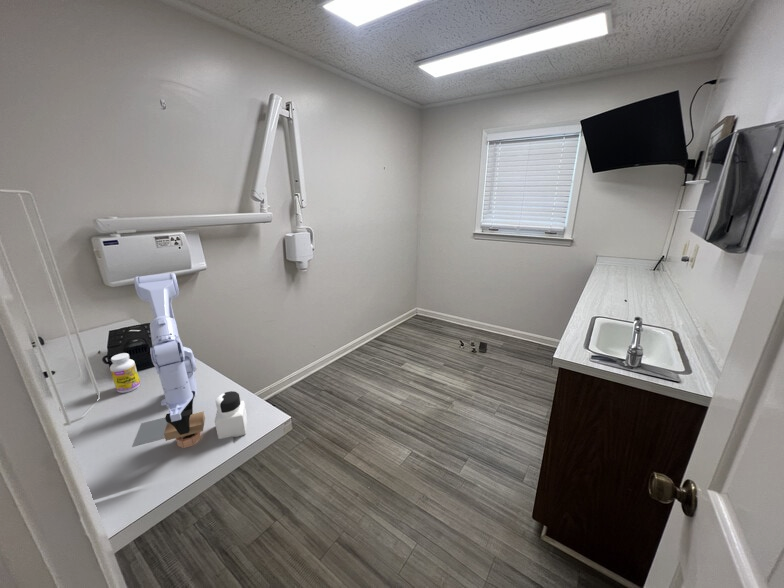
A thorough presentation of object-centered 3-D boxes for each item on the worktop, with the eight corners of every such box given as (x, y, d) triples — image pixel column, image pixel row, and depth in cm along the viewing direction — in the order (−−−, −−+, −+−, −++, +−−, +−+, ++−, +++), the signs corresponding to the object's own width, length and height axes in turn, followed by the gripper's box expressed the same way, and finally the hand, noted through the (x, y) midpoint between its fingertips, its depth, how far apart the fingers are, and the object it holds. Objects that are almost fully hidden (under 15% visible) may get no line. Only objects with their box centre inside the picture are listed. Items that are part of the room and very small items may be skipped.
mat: (142, 425, 93) (141, 423, 93) (181, 415, 97) (180, 413, 97) (132, 449, 85) (131, 446, 84) (175, 437, 89) (175, 435, 88)
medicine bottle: (247, 418, 96) (241, 386, 92) (246, 435, 90) (239, 400, 86) (221, 424, 94) (214, 391, 90) (218, 441, 87) (211, 406, 84)
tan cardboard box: (170, 426, 87) (168, 419, 86) (205, 418, 90) (203, 411, 89) (165, 440, 82) (163, 433, 81) (202, 431, 85) (201, 424, 84)
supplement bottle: (116, 396, 106) (106, 363, 102) (117, 386, 111) (107, 355, 107) (141, 388, 110) (132, 357, 106) (140, 380, 115) (131, 349, 111)
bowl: (180, 437, 89) (178, 429, 88) (202, 431, 91) (200, 423, 90) (177, 452, 84) (174, 443, 83) (200, 445, 86) (198, 436, 85)
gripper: (163, 373, 86) (173, 413, 90) (150, 404, 73) (163, 449, 78) (192, 367, 89) (201, 406, 93) (185, 396, 76) (196, 440, 81)
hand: (186, 425), depth 85 cm, fingers closed on tan cardboard box, 6 cm apart
